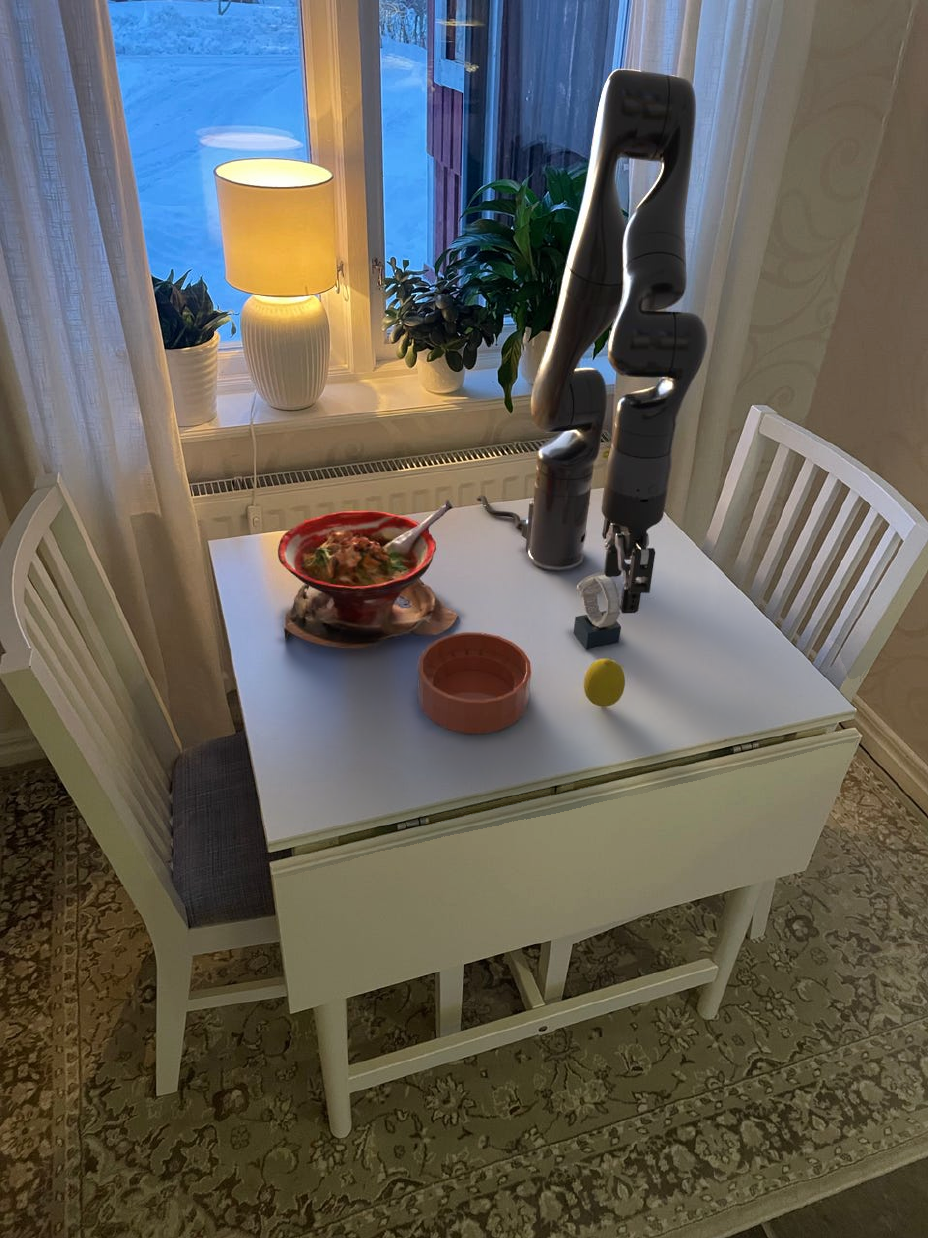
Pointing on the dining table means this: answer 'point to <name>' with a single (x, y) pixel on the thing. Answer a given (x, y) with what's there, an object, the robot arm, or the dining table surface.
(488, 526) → the dining table surface
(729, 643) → the dining table surface
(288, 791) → the dining table surface
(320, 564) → the stew
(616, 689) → the lemon
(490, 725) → the bowl
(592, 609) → the watch
